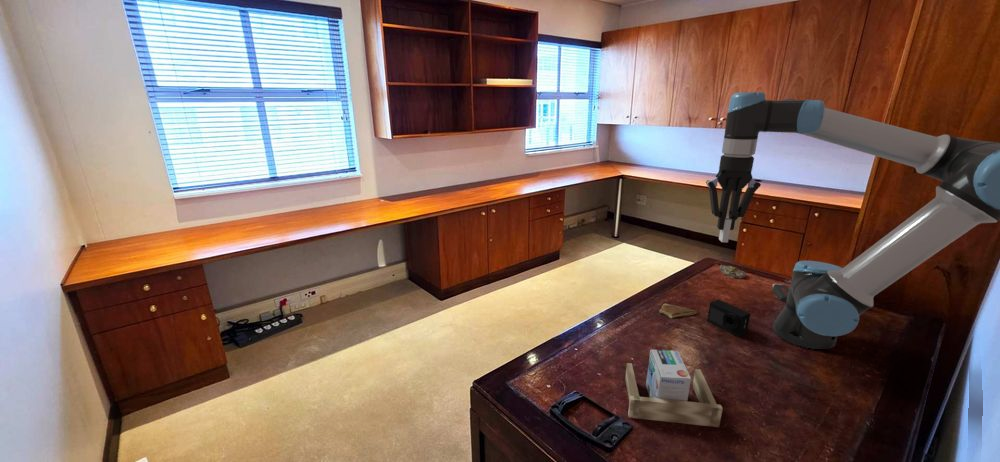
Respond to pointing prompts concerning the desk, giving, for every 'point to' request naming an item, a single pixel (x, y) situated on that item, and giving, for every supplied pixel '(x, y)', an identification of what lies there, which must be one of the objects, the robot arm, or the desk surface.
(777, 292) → the usb drive
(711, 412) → the rack bay
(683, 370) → the light bulb box
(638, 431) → the desk surface
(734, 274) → the mineral rock
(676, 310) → the shard
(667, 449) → the desk surface
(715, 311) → the digital camera
